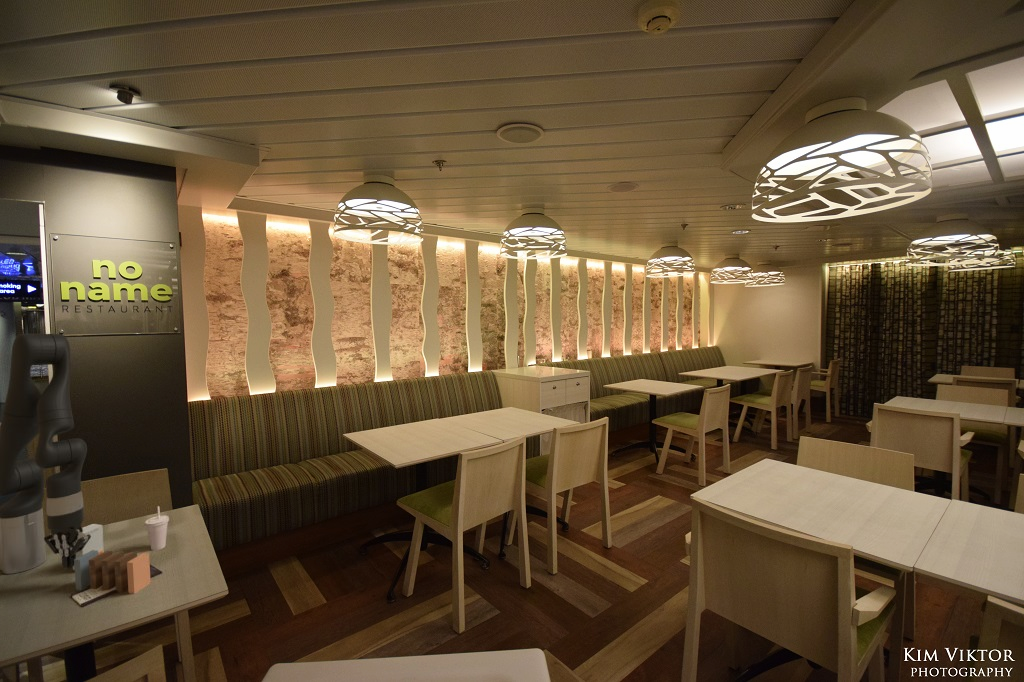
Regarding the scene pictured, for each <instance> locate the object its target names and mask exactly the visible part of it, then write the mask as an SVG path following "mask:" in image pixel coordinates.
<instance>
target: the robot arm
mask: <svg viewBox="0 0 1024 682" xmlns="http://www.w3.org/2000/svg"><path fill="white" fill-rule="evenodd" d="M41 365H42V366H45V365H47V366H48V365H51V366H52V368H53V369H52V370H53V371H52V378H51V380H50V381H49V383H48V385H47V386H46V388H45V389H44V391H43V392H42V391H41V390H40V389H39V388H38V386H37V384H35V382H34V381H33V379H32V376H31V369H32V366H41ZM9 369H10V370H9V371H10V372H9V379H8V380H9V381H8V388H7V393H6V398H5V402H4V407H3V409H2V416H1V419H0V420H1V422H0V497H3V496H7V495H11V494H15V493H17V494H15V495H14V497H12V498H11V499H9V500H8V501H6V502H5V503H3V504H2V505H1V506H0V571H2V573H3V574H5V575H6V574H7V575H8V574H9V575H10V574H18V573H23V572H26V571H29V570H31V569H34V568H37V567H38V566H40V565H42V564H43V563H45V562H46V561H47V555H46V544H47V546H48V547H49V548H50V550H51V551H52V553H53V554H55V555H57V554H58V556H59V557H61V563H62V568H63V569H69V570H70V569H71V568H73V566H74V559H76V553H77V552H79V551H81V550H82V549H83V548H84V547H85V545H86V544H87V542H88V541H89V539H90V538H91V535H89V534H88V535H85V534H83V533H82V532H83V529H82V528H83V527H82V524H83V522H84V521H85V509H84V508H85V507H84V498H83V497H84V496H83V493H82V482H81V477H82V471H83V470H82V469H83V466H84V462H85V459H86V456H87V453H88V446H87V443H86V442H85V440H84V439H82V438H79V437H77V438H70V439H64V440H57V441H52V440H53V438H54V437H56V436H58V435H61V434H64V433H67V432H69V431H72V430H73V429H74V427H75V422H74V417H73V411H72V404H71V396H70V393H71V391H70V388H71V385H70V384H71V348H70V343H69V339H68V338H67V337H66V336H65V335H64V334H61V333H20V334H18V335H17V336H15V338H14V341H13V343H12V348H11V357H10V368H9ZM37 436H38V441H37V446H36V449H35V453H34V457H29V458H24V459H20V460H19V458H20V455H21V454H22V453H23V451H24V450H25V449H26V447H28V445H29V444H31V442H32V441H33V440H34V439H35V438H36V437H37ZM65 465H67V467H66V468H65V469H64V470H60V471H59V472H57V473H54V474H51V475H50V476H48V477H46V480H45V472H44V469H46V470H47V469H51V468H55V467H60V466H65ZM45 489H46V490H45ZM45 491H46V502H45V505H46V506H45V507H46V508H45V509H46V522H47V524H46V525H47V529H48V530H50V534H48V535H46V536H45V524H44V523H45V522H44V510H43V502H44V499H45Z"/></svg>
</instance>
